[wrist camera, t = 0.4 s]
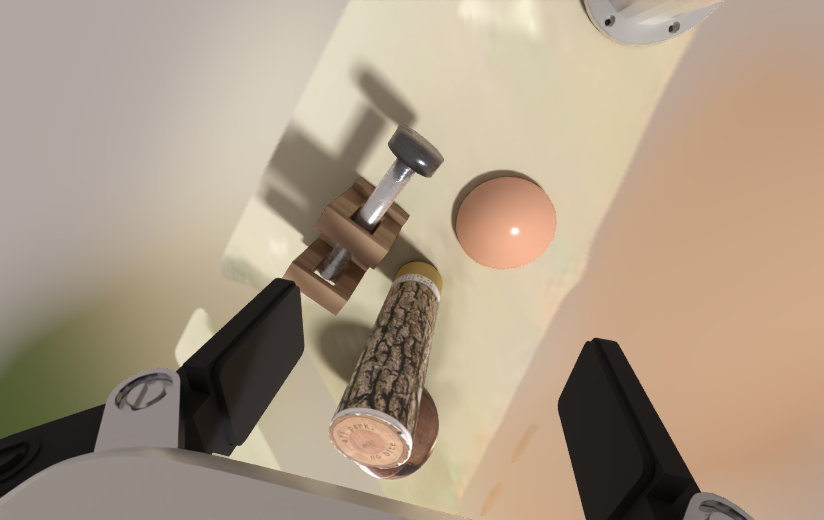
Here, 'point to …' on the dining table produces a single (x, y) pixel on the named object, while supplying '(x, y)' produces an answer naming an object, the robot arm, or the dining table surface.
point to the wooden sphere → (415, 442)
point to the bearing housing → (351, 237)
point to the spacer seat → (506, 223)
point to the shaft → (389, 188)
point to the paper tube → (390, 374)
